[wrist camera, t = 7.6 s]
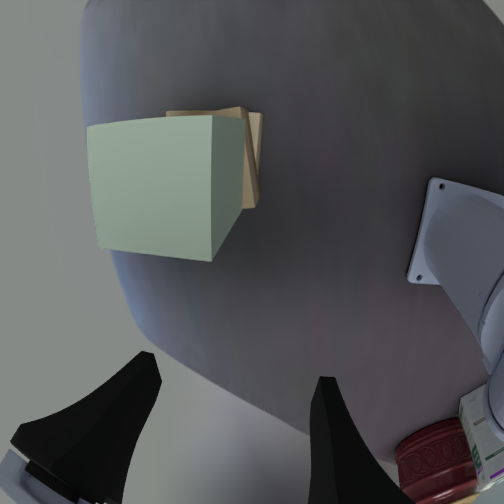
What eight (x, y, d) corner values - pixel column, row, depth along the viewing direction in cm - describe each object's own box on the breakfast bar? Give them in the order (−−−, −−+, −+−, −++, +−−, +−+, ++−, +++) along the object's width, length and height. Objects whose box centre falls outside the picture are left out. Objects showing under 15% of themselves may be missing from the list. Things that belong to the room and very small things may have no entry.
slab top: (248, 109, 14) (240, 106, 12) (260, 195, 16) (254, 207, 14) (165, 126, 15) (144, 127, 13) (180, 204, 17) (163, 218, 15)
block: (245, 119, 12) (212, 115, 7) (242, 210, 14) (211, 261, 9) (157, 120, 12) (86, 126, 8) (159, 205, 14) (98, 248, 9)
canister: (480, 414, 27) (503, 500, 11) (432, 453, 33) (443, 529, 17) (428, 417, 27) (448, 527, 11) (378, 456, 33) (383, 546, 17)
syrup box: (459, 397, 25) (485, 487, 12) (494, 377, 23) (528, 461, 10) (457, 414, 27) (478, 494, 14) (490, 396, 25) (516, 472, 12)
